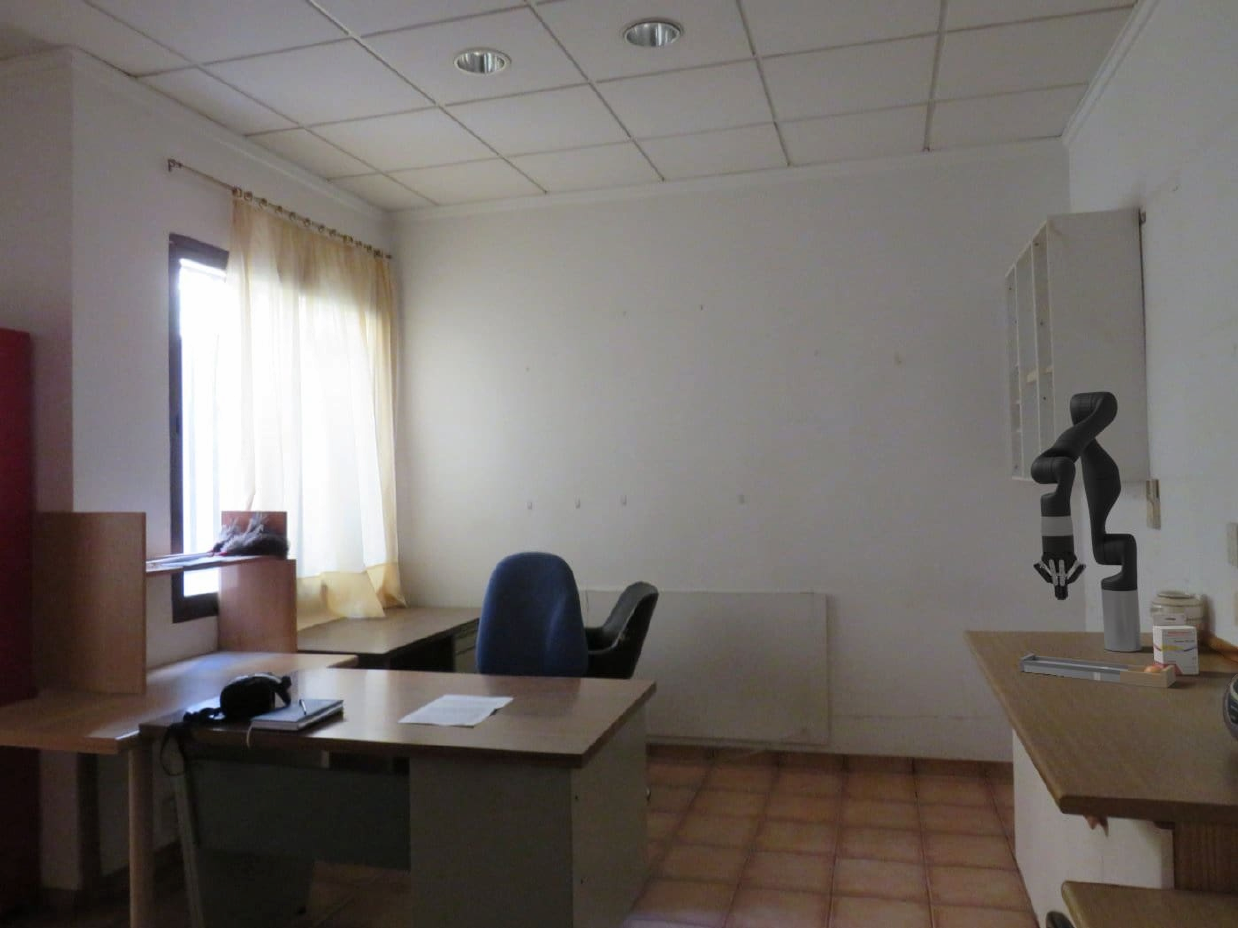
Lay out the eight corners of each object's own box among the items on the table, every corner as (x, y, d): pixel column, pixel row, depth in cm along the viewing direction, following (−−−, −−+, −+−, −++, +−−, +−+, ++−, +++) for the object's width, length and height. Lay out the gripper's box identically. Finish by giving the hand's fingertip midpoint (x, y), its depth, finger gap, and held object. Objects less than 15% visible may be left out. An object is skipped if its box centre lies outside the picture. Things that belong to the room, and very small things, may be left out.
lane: (1032, 666, 243) (1031, 651, 243) (1175, 681, 219) (1174, 664, 219) (1020, 671, 237) (1019, 656, 238) (1166, 687, 214) (1165, 671, 214)
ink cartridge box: (1164, 675, 226) (1160, 616, 226) (1154, 671, 231) (1150, 613, 231) (1200, 674, 225) (1196, 615, 225) (1189, 670, 230) (1185, 612, 230)
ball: (1143, 670, 222) (1155, 660, 220) (1156, 683, 220) (1169, 673, 218) (1138, 674, 219) (1150, 664, 217) (1152, 687, 217) (1164, 677, 215)
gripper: (1089, 532, 232) (1093, 599, 232) (1036, 532, 242) (1040, 596, 241) (1079, 534, 227) (1084, 603, 227) (1025, 534, 236) (1030, 600, 236)
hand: (1061, 599), depth 234 cm, fingers closed
